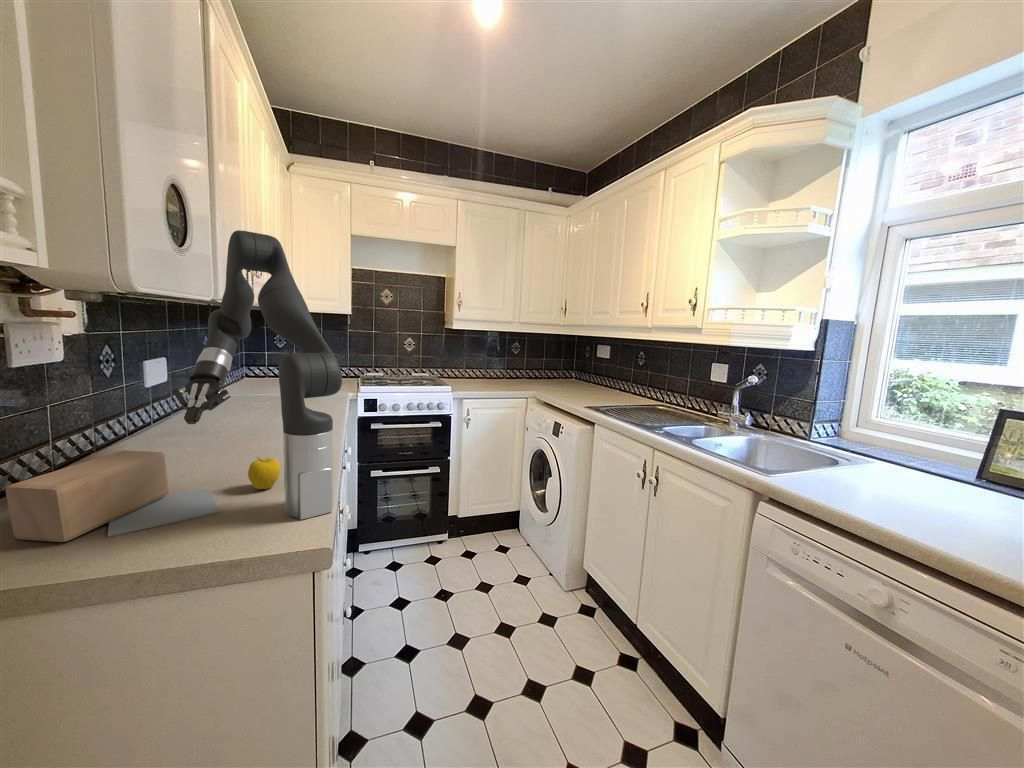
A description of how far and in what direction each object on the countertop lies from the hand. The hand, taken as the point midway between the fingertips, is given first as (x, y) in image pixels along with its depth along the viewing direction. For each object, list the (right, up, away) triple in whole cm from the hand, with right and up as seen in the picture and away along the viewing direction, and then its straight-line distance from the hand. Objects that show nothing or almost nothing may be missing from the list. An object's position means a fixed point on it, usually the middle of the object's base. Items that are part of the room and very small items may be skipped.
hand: (190, 422), depth 100 cm
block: (+1, -9, -12) cm, 16 cm away
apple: (+21, -15, -5) cm, 27 cm away
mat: (+9, -16, -18) cm, 26 cm away
